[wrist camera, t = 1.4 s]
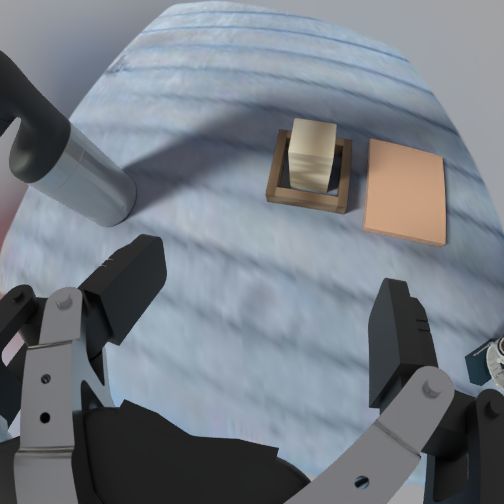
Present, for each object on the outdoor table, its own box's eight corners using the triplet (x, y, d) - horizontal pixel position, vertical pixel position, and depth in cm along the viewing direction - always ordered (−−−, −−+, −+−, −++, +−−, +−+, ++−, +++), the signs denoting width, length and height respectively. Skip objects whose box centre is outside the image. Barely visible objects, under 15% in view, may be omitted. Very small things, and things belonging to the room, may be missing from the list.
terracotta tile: (362, 230, 37) (364, 227, 35) (368, 143, 39) (370, 138, 38) (440, 247, 34) (445, 244, 33) (438, 161, 37) (442, 156, 36)
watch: (488, 327, 31) (535, 324, 20) (497, 374, 28) (542, 382, 18) (461, 344, 31) (508, 348, 20) (471, 392, 29) (515, 408, 18)
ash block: (290, 186, 40) (288, 151, 31) (295, 156, 41) (294, 118, 32) (326, 192, 39) (333, 158, 30) (330, 161, 40) (336, 124, 31)
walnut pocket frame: (267, 201, 39) (265, 194, 37) (280, 139, 41) (279, 129, 39) (343, 214, 38) (346, 207, 35) (349, 149, 40) (352, 140, 37)
